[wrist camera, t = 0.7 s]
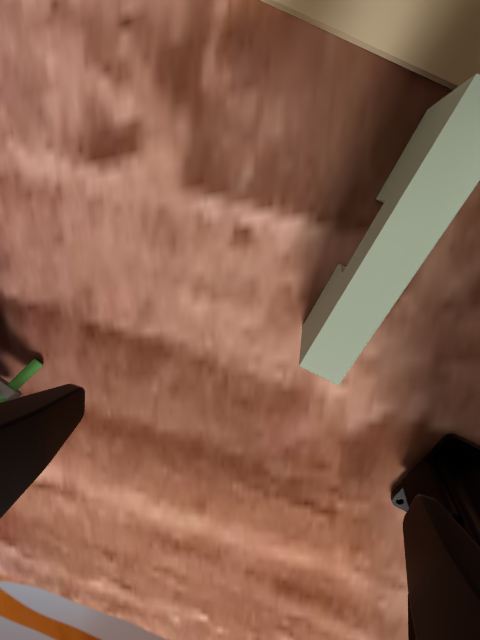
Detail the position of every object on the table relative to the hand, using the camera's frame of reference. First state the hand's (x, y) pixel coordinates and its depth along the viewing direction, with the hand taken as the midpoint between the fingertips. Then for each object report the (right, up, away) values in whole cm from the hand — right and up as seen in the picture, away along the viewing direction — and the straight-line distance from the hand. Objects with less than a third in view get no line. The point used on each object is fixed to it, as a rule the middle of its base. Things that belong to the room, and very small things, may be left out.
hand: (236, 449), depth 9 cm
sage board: (+7, +8, +9) cm, 14 cm away
